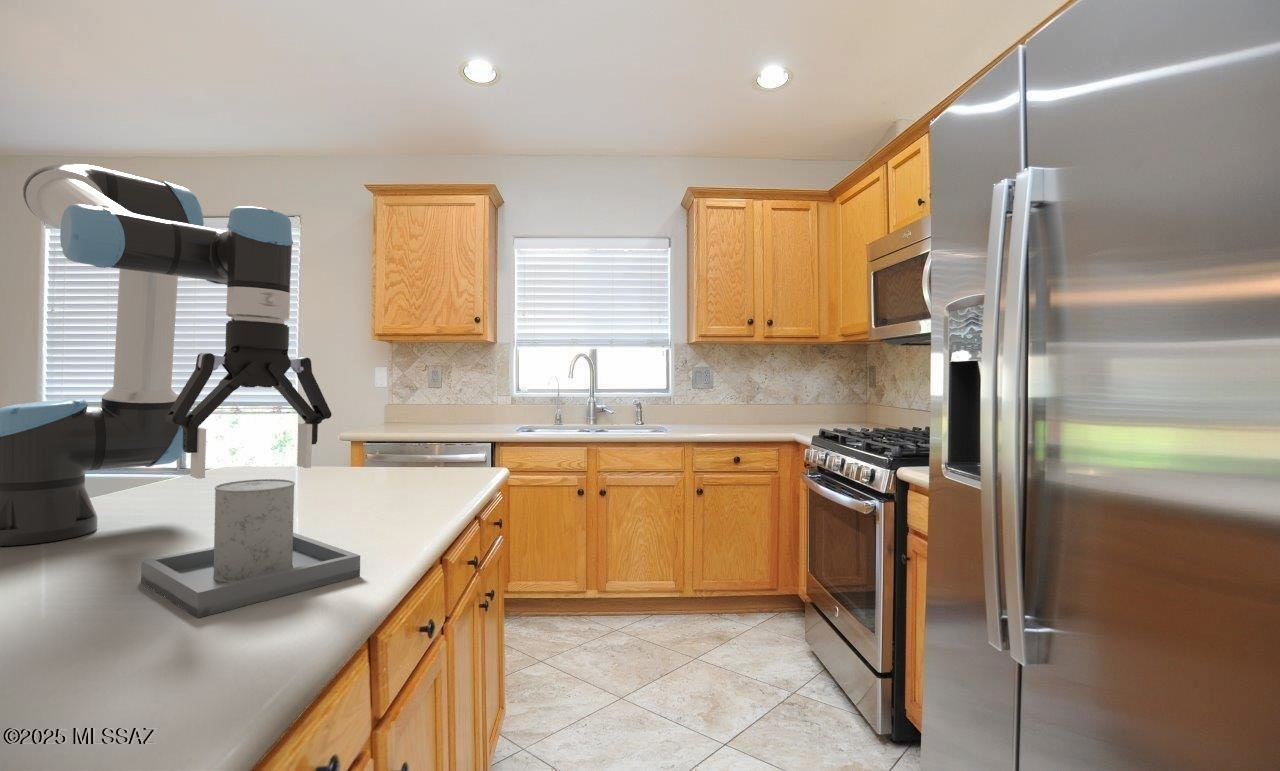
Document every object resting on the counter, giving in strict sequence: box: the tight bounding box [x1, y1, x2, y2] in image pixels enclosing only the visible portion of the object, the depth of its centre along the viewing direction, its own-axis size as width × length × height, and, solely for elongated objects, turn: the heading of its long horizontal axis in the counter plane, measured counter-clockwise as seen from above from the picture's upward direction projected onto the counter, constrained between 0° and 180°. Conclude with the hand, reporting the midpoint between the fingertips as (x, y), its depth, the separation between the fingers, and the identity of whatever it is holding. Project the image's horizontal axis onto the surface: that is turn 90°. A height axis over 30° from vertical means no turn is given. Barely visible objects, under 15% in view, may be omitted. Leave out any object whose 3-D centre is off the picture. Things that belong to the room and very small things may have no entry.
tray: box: [140, 532, 361, 619], centre depth 85 cm, size 20×20×3 cm
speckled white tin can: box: [213, 478, 296, 583], centre depth 85 cm, size 10×10×12 cm
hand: (254, 471), depth 86 cm, fingers open, 13 cm apart
